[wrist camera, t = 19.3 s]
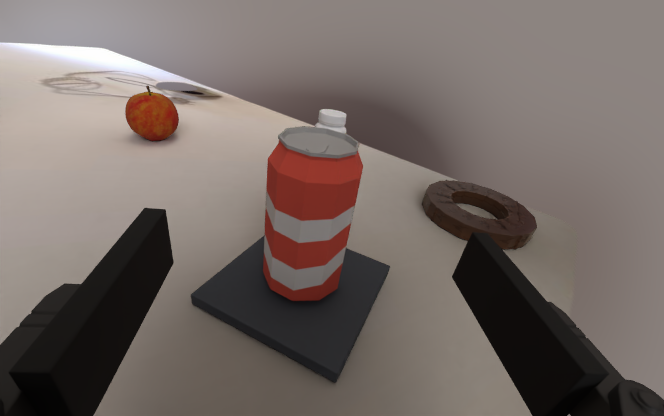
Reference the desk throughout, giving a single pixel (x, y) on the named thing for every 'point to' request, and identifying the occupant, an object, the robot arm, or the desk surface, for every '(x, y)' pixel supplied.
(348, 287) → the mat
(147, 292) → the robot arm
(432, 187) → the socket
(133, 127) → the fruit
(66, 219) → the desk surface
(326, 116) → the supplement bottle
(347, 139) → the beverage can
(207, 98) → the desk surface
